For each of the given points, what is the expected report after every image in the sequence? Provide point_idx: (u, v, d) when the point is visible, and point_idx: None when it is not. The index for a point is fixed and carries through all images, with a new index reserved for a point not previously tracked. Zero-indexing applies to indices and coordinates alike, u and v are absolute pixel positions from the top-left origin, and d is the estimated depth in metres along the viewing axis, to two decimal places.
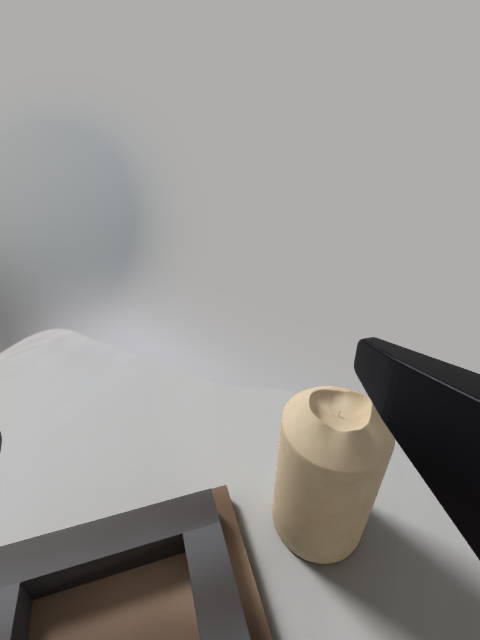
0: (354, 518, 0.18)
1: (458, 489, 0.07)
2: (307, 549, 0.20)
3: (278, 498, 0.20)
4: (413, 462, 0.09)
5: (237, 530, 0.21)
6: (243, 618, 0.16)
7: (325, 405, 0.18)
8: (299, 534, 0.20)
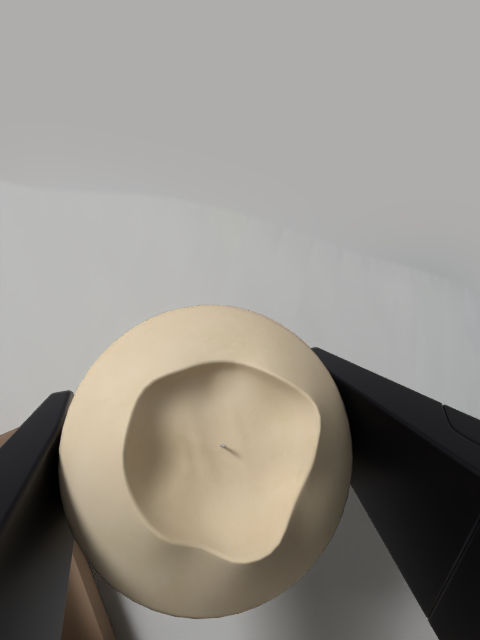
0: None
1: (387, 511, 0.07)
2: None
3: None
4: None
5: None
6: None
7: (186, 412, 0.06)
8: None
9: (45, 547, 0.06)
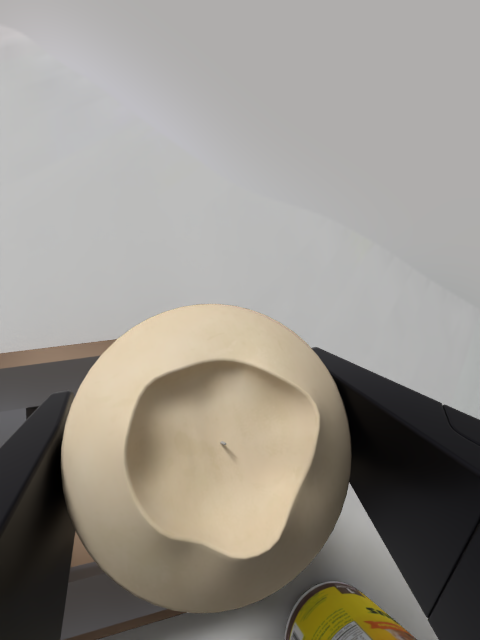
0: None
1: (387, 511, 0.07)
2: None
3: None
4: (349, 480, 0.08)
5: None
6: None
7: (186, 410, 0.06)
8: None
9: (45, 547, 0.06)
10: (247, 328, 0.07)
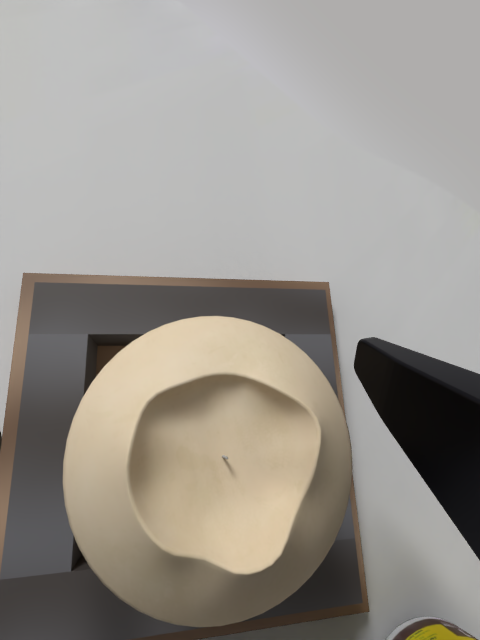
0: None
1: (458, 489, 0.07)
2: None
3: None
4: (413, 462, 0.09)
5: (333, 338, 0.17)
6: None
7: (188, 423, 0.06)
8: None
9: None
10: (248, 341, 0.07)
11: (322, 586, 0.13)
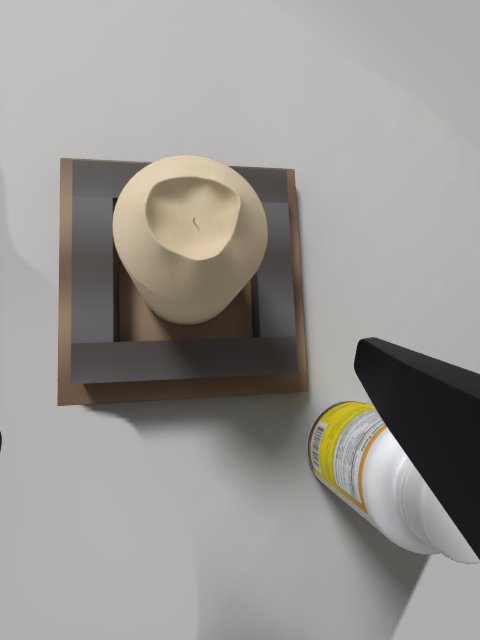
0: (218, 310, 0.17)
1: (458, 489, 0.07)
2: (174, 322, 0.20)
3: None
4: (413, 462, 0.09)
5: (295, 213, 0.23)
6: (291, 277, 0.20)
7: (175, 204, 0.12)
8: (163, 316, 0.18)
9: None
10: (208, 165, 0.13)
11: (272, 362, 0.20)
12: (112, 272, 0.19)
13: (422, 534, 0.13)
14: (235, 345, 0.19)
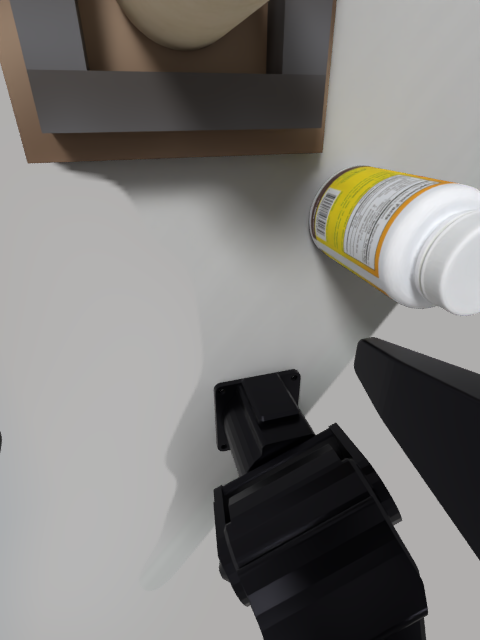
0: (241, 21, 0.12)
1: (458, 489, 0.07)
2: (167, 43, 0.14)
3: None
4: (413, 462, 0.09)
5: None
6: None
7: None
8: (154, 30, 0.13)
9: None
10: None
11: (293, 111, 0.16)
12: None
13: (433, 294, 0.14)
14: (250, 85, 0.15)
